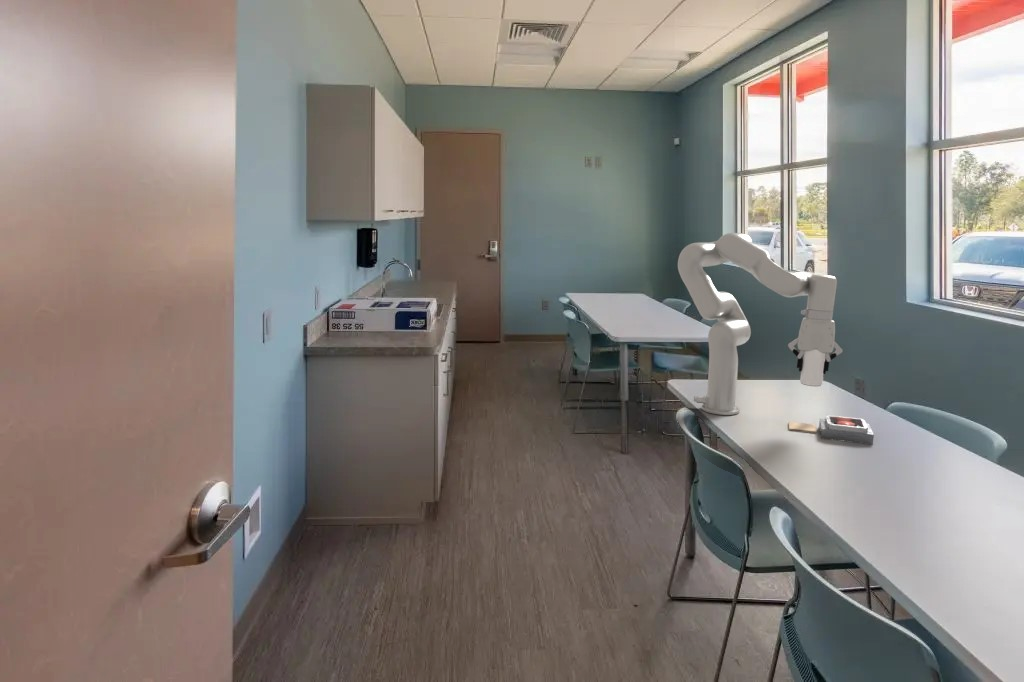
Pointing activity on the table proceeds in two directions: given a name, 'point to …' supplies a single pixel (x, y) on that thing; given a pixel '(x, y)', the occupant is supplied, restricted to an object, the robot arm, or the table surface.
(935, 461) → the table surface
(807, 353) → the can
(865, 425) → the white shallow box
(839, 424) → the button
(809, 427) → the coaster
